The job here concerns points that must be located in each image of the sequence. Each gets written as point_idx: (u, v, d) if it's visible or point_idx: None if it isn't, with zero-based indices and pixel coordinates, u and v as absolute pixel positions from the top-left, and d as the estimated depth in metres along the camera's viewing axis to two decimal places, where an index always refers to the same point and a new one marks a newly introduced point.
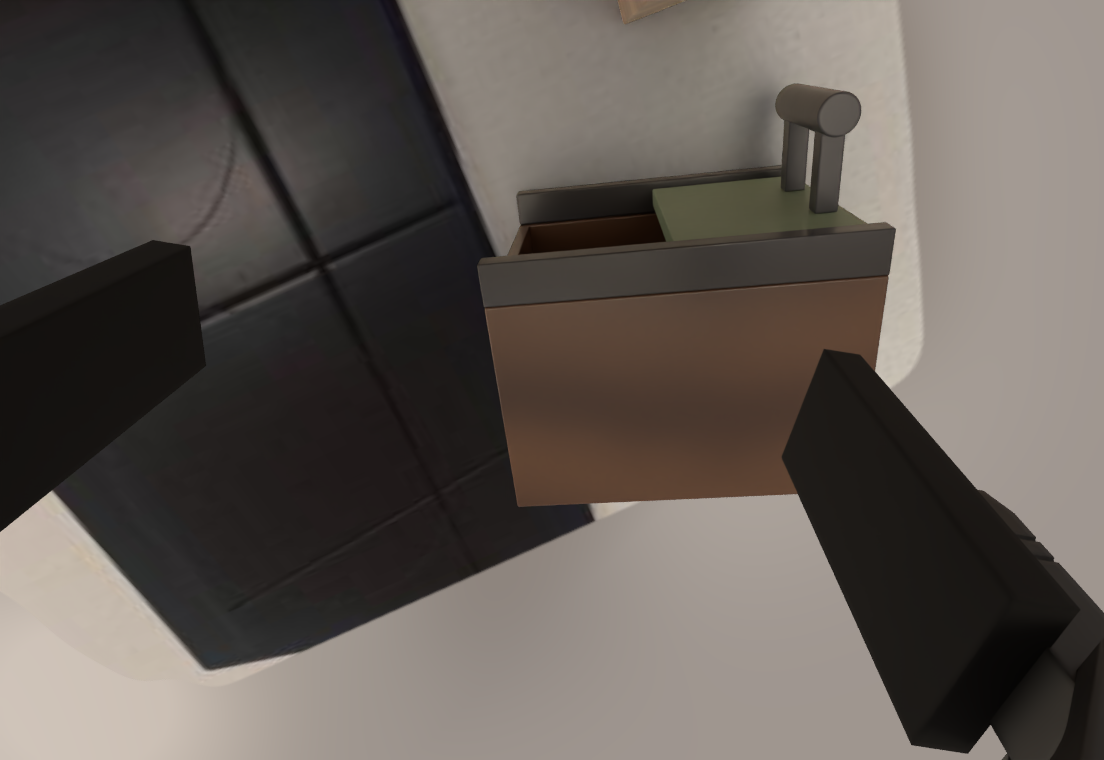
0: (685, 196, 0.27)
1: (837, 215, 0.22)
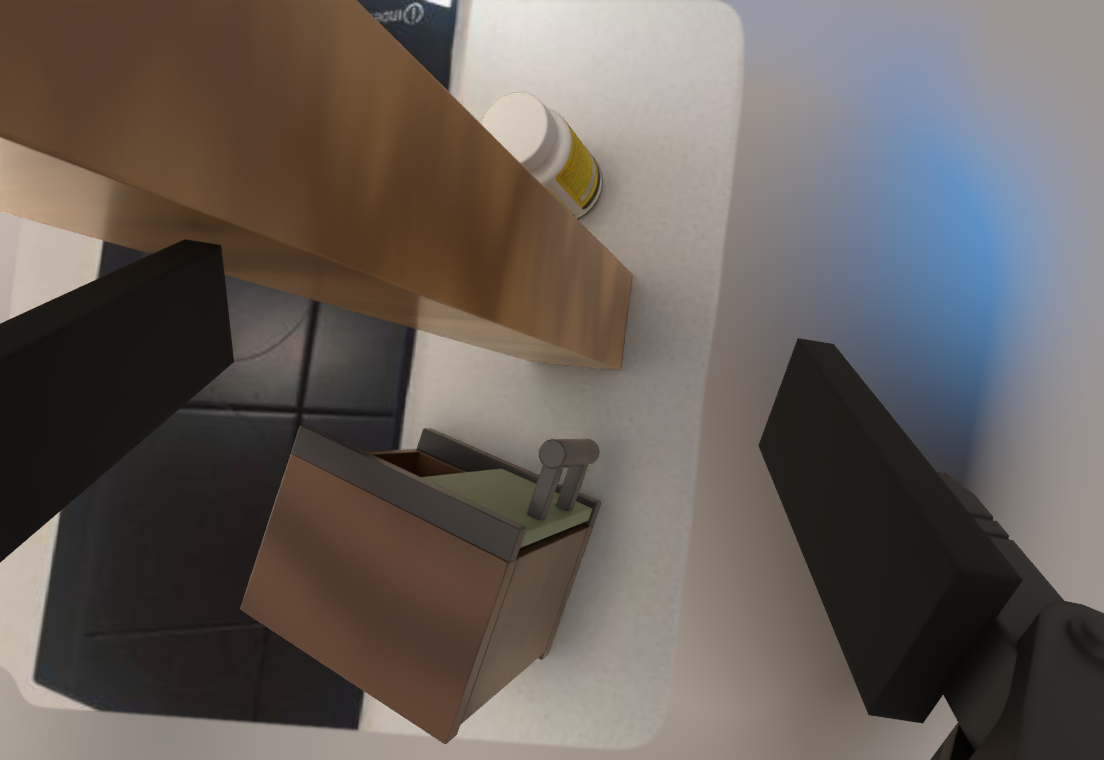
0: (501, 477, 0.36)
1: (533, 520, 0.30)
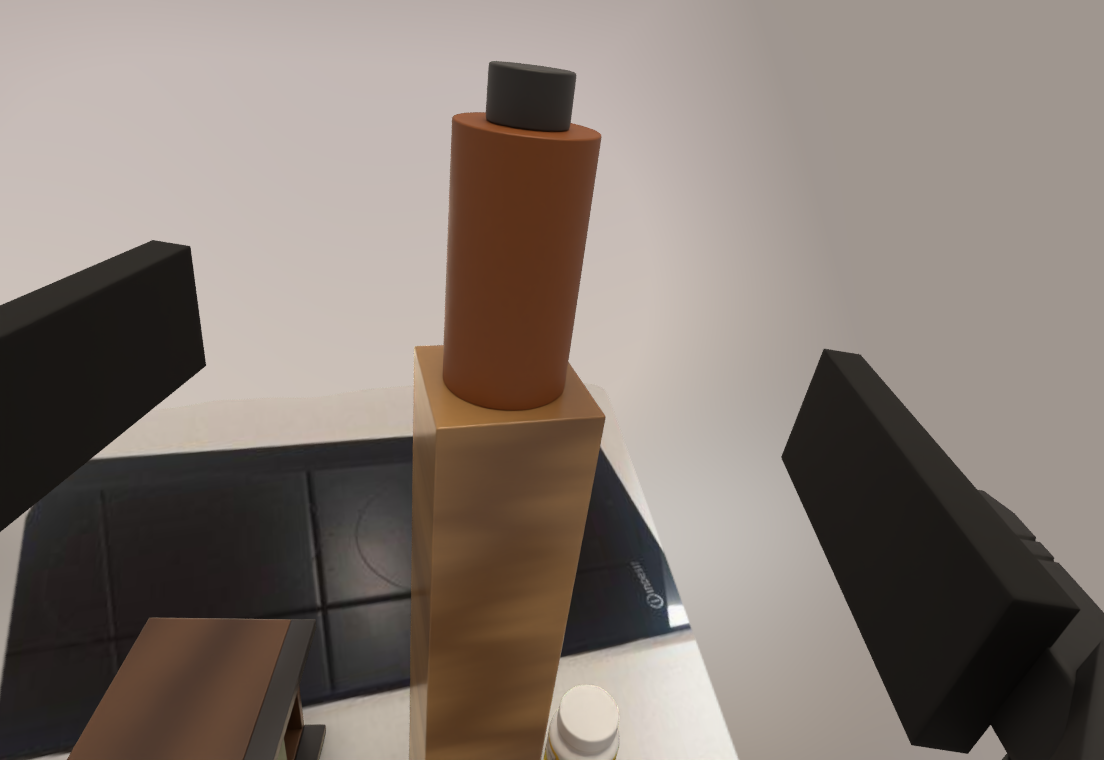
0: None
1: None
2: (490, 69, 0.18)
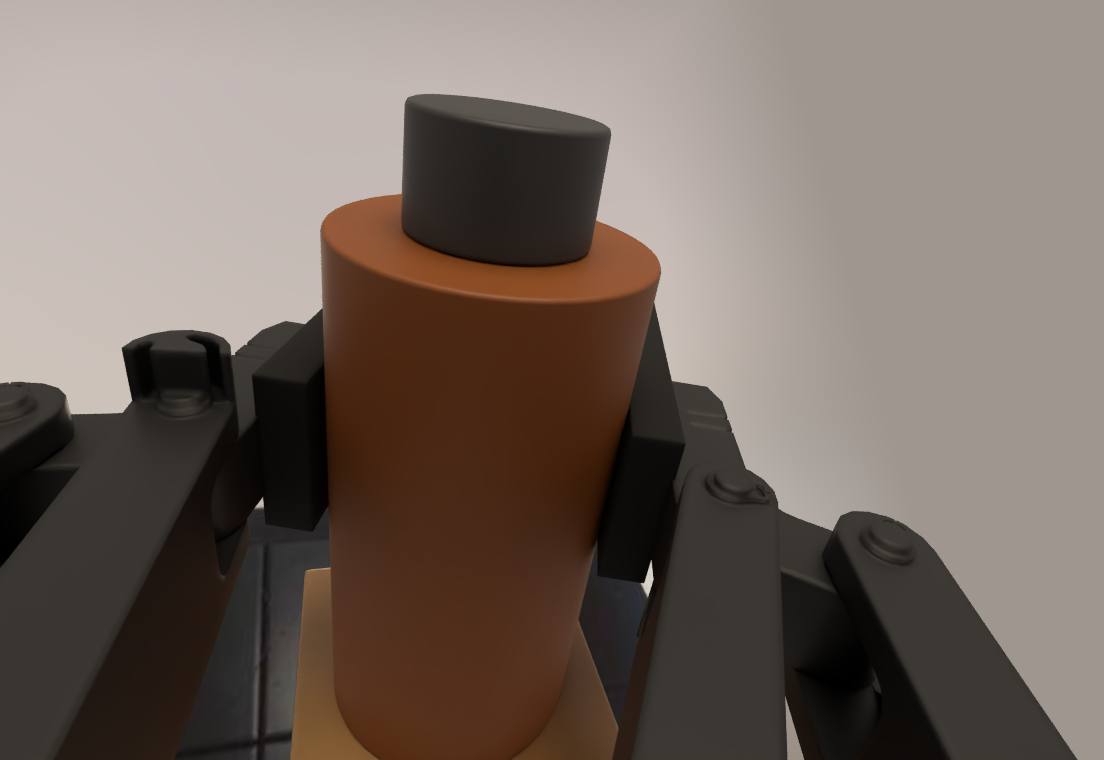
0: None
1: None
2: (405, 115, 0.07)
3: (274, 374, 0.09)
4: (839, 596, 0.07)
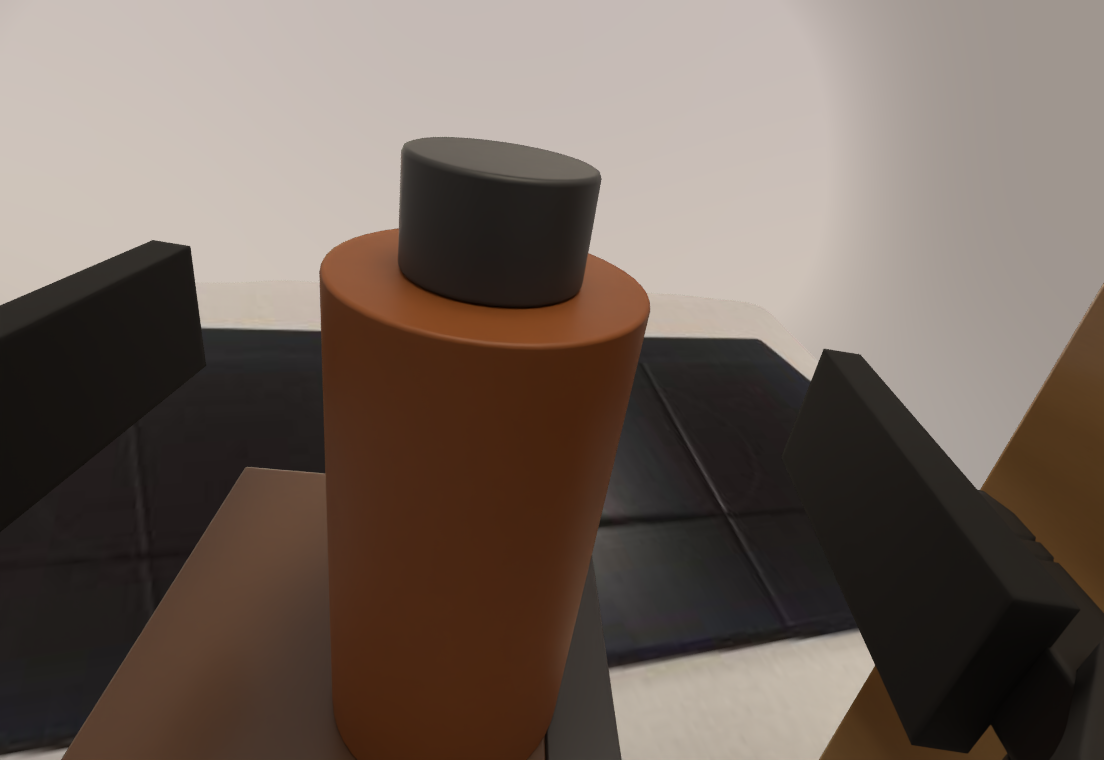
0: None
1: None
2: (402, 162, 0.08)
3: None
4: None
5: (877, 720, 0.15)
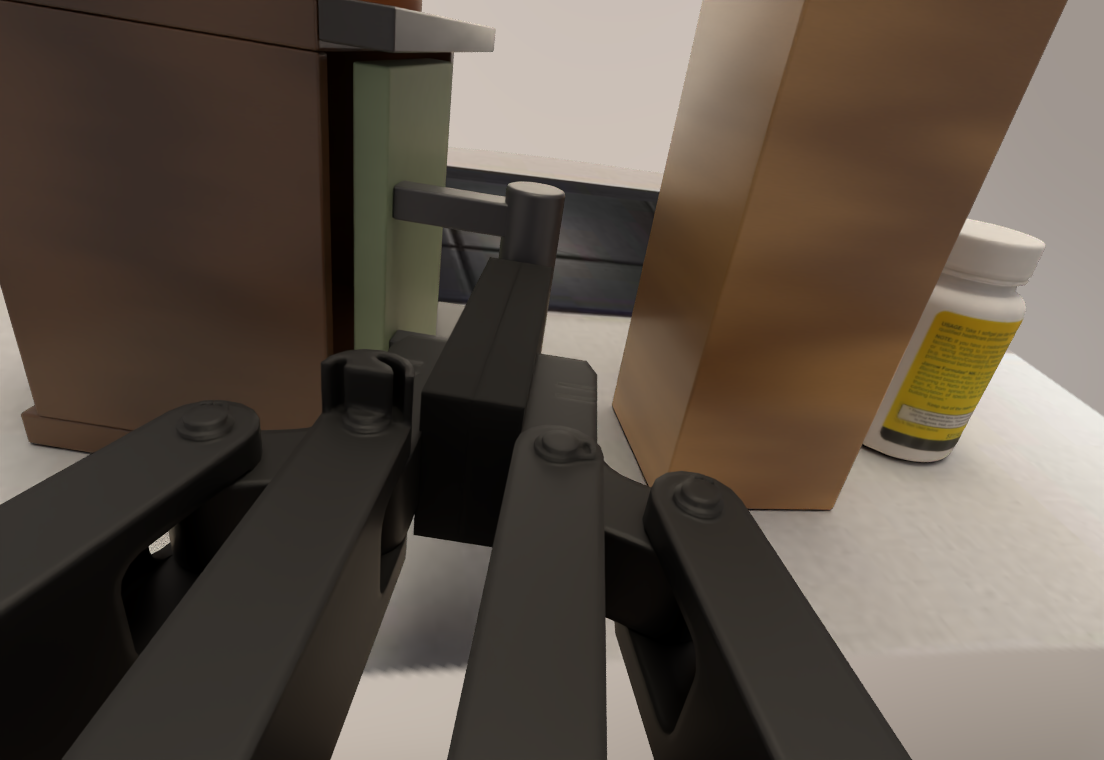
0: (430, 307, 0.21)
1: (394, 166, 0.14)
2: None
3: (440, 391, 0.09)
4: (648, 550, 0.08)
5: (688, 98, 0.18)
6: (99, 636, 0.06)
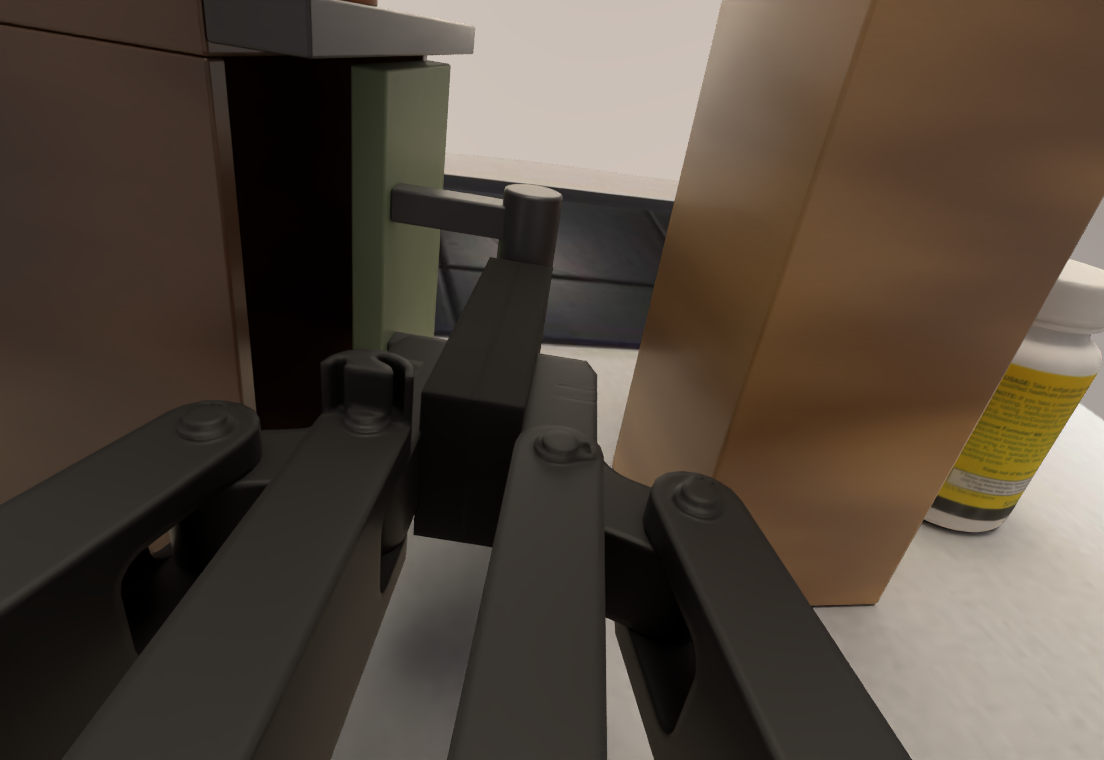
0: (428, 309, 0.21)
1: (392, 169, 0.14)
2: None
3: (441, 391, 0.09)
4: (648, 550, 0.08)
5: (705, 111, 0.15)
6: (99, 636, 0.06)
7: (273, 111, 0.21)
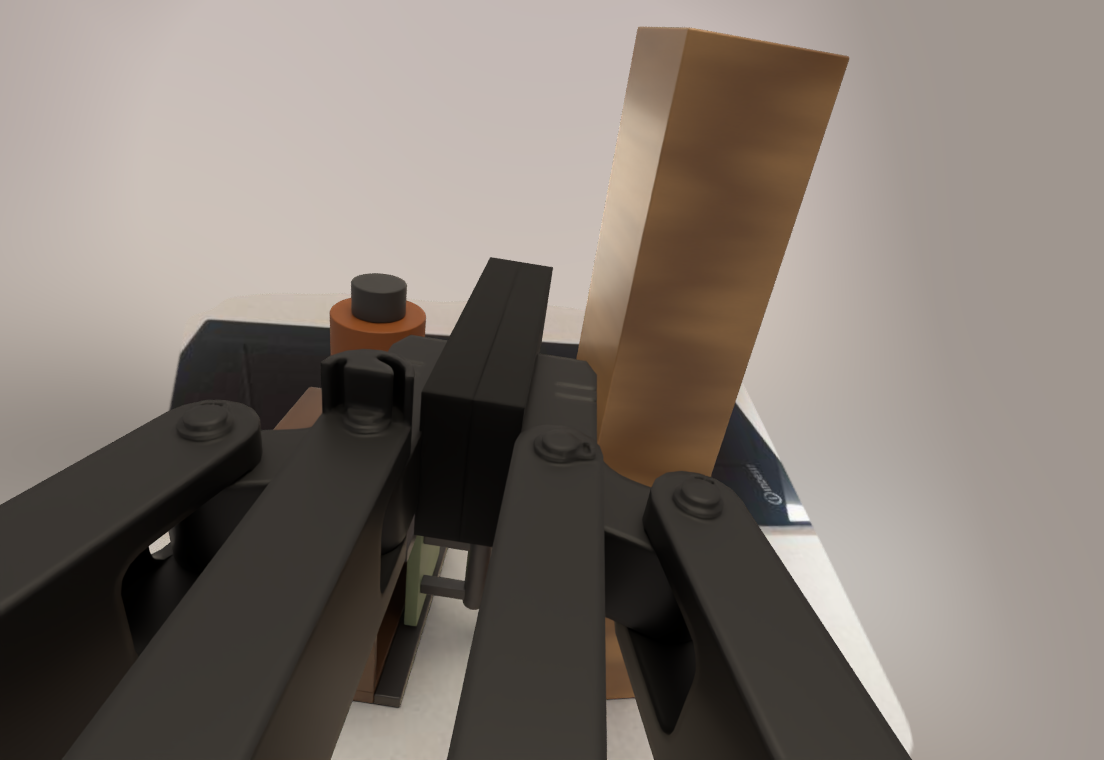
0: None
1: None
2: (351, 284, 0.30)
3: (440, 391, 0.09)
4: (648, 550, 0.08)
5: None
6: (99, 636, 0.06)
7: None
